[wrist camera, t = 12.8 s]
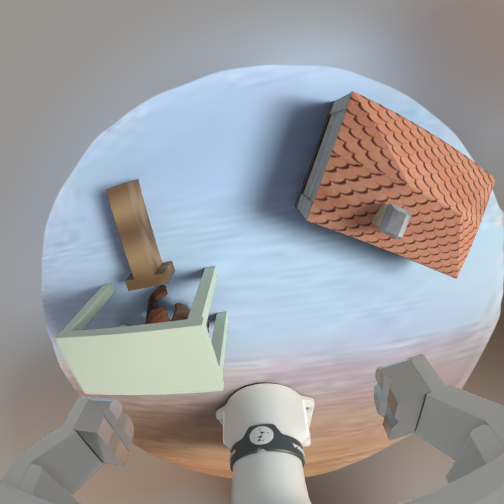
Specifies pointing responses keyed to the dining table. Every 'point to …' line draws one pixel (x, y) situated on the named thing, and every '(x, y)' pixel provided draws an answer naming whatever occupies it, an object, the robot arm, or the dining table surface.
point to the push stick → (137, 237)
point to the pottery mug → (160, 313)
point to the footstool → (148, 350)
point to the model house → (394, 186)
